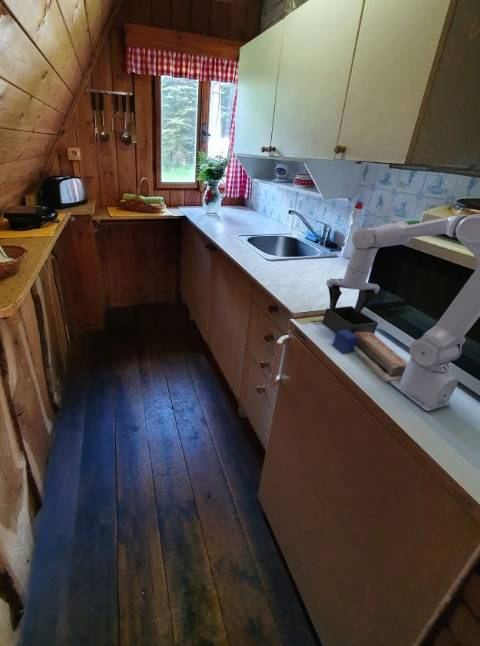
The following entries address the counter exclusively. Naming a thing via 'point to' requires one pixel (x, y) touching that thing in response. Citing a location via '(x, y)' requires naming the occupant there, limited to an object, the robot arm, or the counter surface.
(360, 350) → the packaged product
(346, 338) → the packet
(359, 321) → the waste bin
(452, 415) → the counter surface
